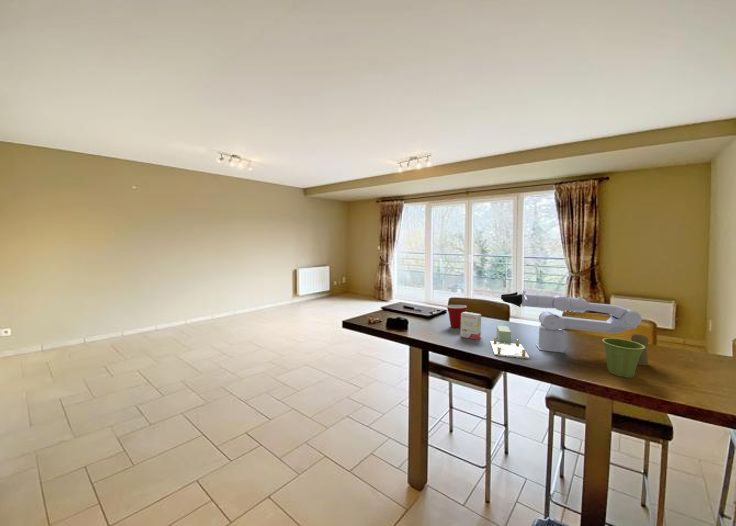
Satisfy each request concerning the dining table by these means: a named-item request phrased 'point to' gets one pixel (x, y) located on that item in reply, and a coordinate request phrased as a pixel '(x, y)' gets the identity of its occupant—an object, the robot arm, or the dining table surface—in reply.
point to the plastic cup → (455, 314)
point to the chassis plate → (509, 349)
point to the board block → (503, 334)
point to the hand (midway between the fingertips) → (502, 297)
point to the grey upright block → (643, 357)
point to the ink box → (470, 325)
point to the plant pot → (622, 356)
